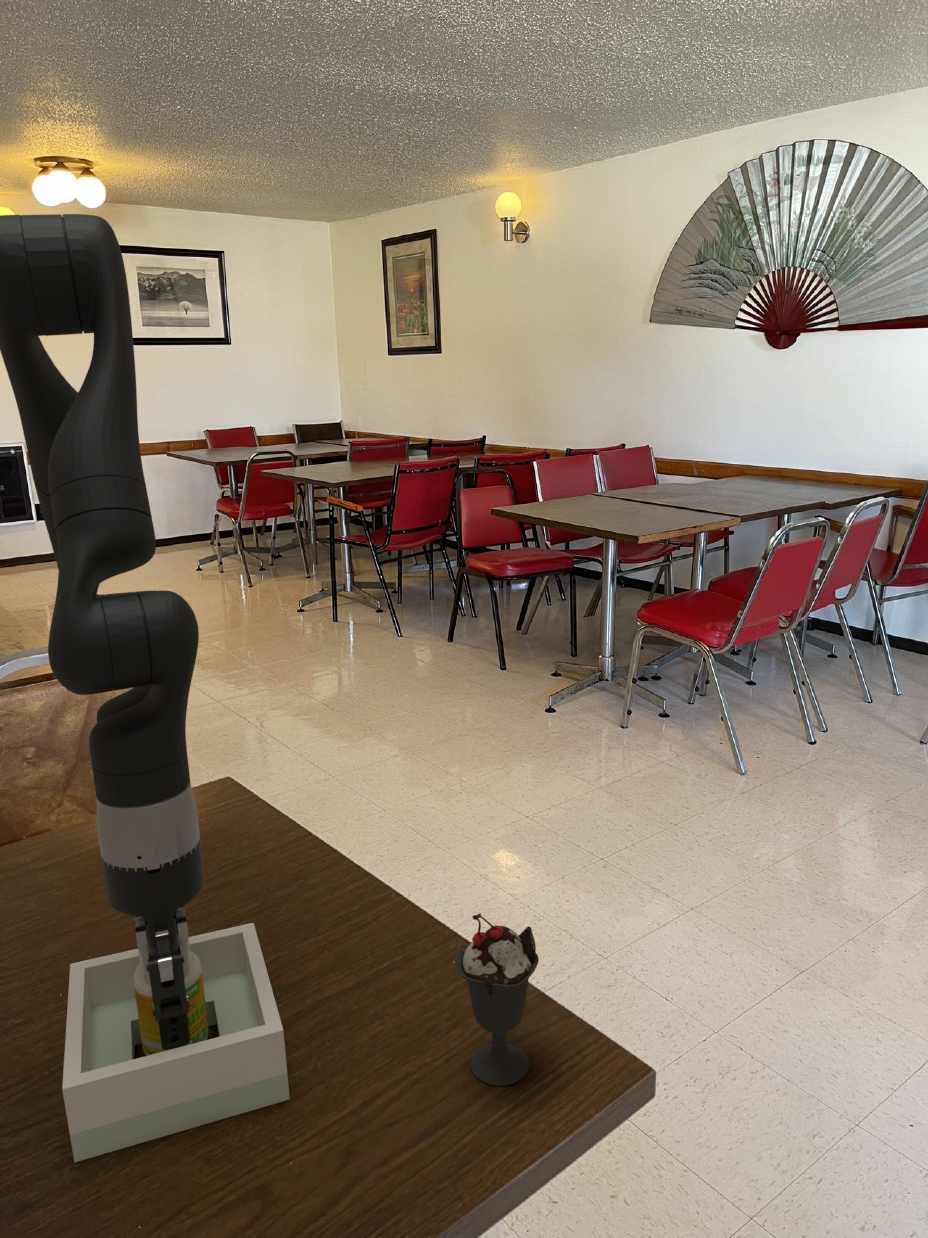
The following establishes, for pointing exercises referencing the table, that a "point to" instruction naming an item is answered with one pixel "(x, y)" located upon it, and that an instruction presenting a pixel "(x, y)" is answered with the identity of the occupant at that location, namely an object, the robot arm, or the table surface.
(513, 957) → the sundae
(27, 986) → the table surface
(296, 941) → the table surface
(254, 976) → the bore box
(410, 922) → the table surface
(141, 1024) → the supplement bottle
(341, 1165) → the table surface
